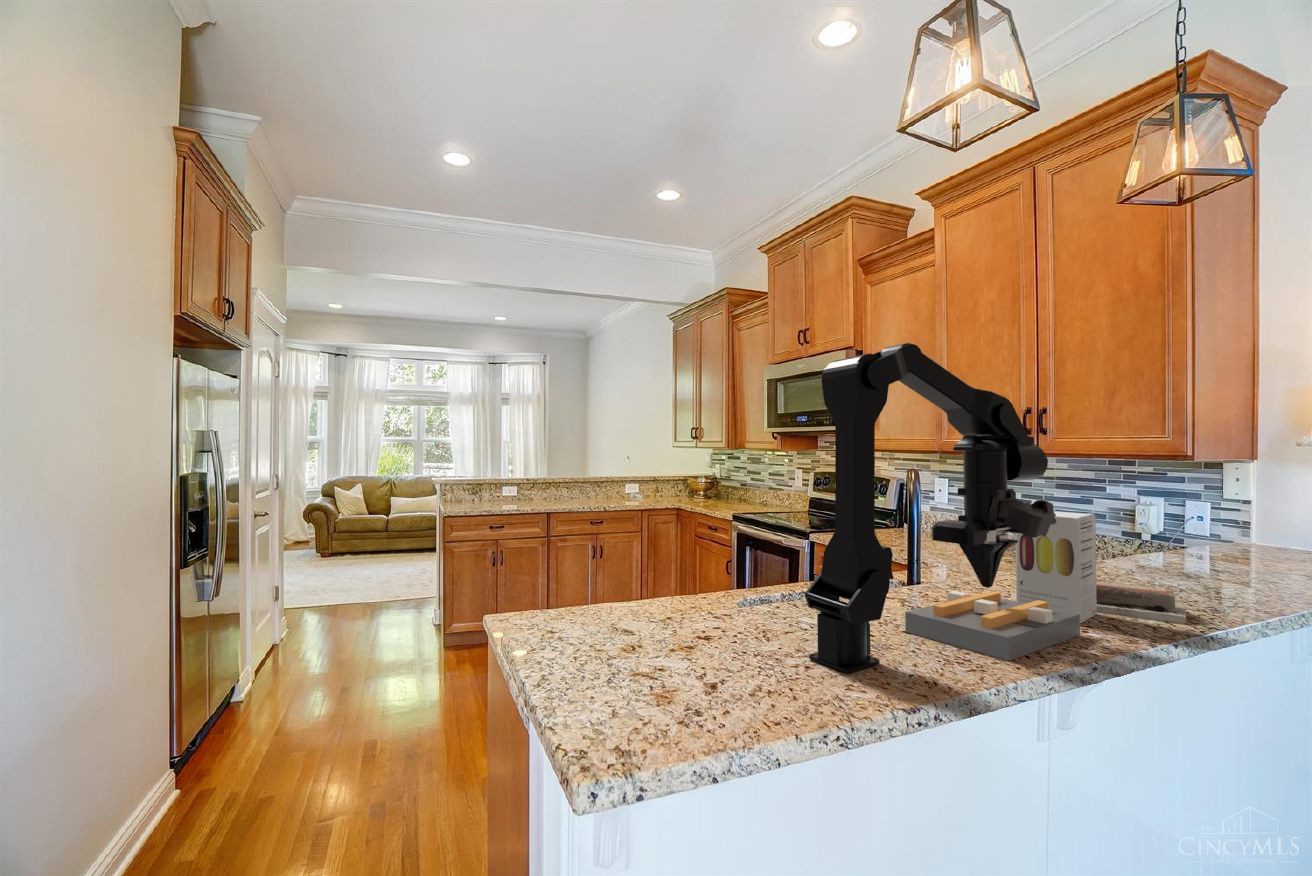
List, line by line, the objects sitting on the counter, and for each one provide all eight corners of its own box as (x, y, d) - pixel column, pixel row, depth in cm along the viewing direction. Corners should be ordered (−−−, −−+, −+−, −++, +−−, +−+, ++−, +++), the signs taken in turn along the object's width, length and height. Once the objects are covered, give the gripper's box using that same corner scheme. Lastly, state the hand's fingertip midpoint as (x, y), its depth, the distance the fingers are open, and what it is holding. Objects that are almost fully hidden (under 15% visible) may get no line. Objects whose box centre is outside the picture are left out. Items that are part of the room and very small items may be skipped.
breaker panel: (1008, 661, 77) (1008, 625, 77) (905, 631, 89) (905, 601, 89) (1080, 635, 87) (1079, 603, 88) (978, 612, 100) (978, 584, 100)
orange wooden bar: (942, 617, 86) (942, 607, 87) (933, 614, 88) (933, 605, 88) (1000, 601, 95) (1000, 593, 95) (991, 600, 96) (991, 591, 96)
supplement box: (1014, 612, 100) (1012, 512, 100) (1033, 603, 106) (1031, 508, 106) (1082, 625, 92) (1079, 516, 93) (1099, 614, 98) (1096, 512, 99)
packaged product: (1048, 580, 104) (1057, 571, 112) (1049, 608, 104) (1058, 597, 112) (1186, 596, 92) (1185, 585, 100) (1186, 627, 92) (1186, 614, 100)
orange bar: (990, 629, 81) (990, 618, 81) (980, 626, 82) (980, 616, 82) (1048, 611, 89) (1048, 602, 89) (1038, 609, 90) (1038, 600, 90)
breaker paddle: (990, 615, 86) (990, 604, 86) (974, 611, 88) (973, 601, 88) (997, 613, 87) (997, 602, 87) (981, 609, 89) (981, 599, 89)
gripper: (1008, 486, 77) (1010, 608, 76) (1075, 481, 87) (1077, 589, 86) (928, 482, 86) (930, 591, 86) (997, 479, 96) (999, 576, 96)
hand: (987, 587), depth 88 cm, fingers closed
